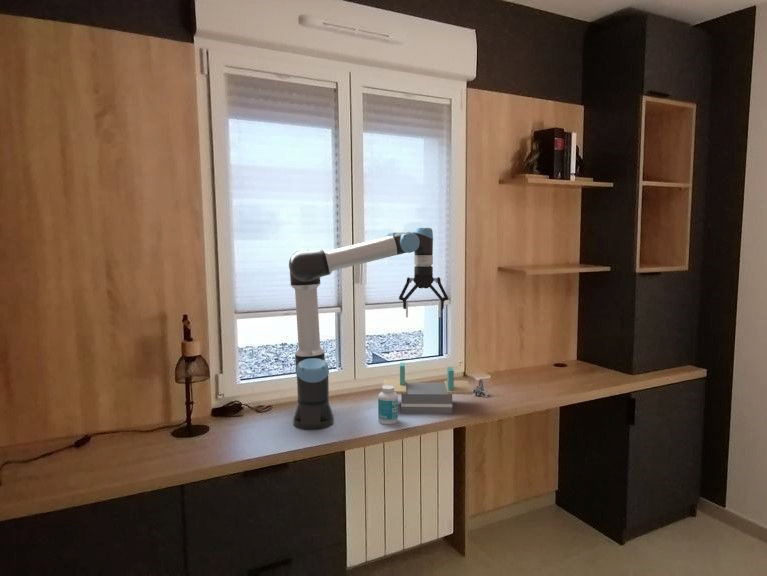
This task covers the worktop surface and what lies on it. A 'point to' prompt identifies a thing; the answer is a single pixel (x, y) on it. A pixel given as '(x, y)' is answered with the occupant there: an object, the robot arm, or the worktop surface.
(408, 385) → the carton
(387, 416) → the pill bottle
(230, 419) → the worktop surface
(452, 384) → the flap
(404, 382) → the flap
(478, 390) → the grey irregular piece
